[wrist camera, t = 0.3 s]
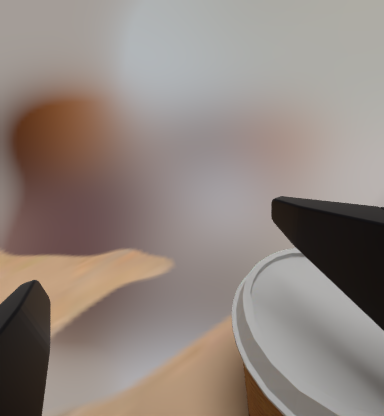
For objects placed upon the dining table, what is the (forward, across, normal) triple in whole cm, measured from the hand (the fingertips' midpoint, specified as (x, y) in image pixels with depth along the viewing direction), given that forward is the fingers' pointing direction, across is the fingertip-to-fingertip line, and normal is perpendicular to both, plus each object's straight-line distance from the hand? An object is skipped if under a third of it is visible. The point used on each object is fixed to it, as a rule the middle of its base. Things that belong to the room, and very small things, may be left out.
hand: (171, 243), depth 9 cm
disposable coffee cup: (-1, -6, +17) cm, 18 cm away
